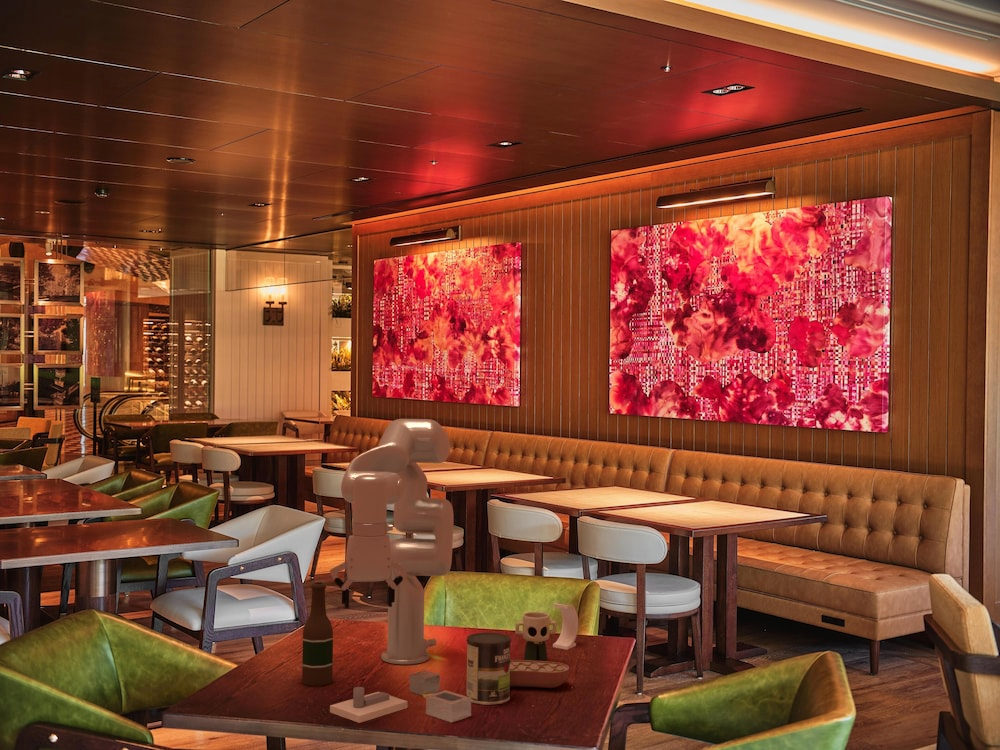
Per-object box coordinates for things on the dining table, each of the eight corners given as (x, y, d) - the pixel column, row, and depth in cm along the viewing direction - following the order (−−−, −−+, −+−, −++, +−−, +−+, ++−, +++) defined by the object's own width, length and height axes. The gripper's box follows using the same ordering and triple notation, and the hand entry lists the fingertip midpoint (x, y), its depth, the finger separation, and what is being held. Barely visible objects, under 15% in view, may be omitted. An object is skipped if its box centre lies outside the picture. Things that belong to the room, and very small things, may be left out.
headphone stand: (552, 647, 285) (553, 603, 285) (563, 642, 290) (564, 599, 290) (567, 649, 282) (567, 606, 282) (578, 645, 287) (578, 602, 287)
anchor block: (424, 687, 247) (425, 670, 247) (439, 691, 243) (439, 674, 243) (409, 691, 243) (409, 674, 243) (424, 696, 240) (424, 678, 240)
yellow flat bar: (422, 696, 239) (422, 694, 239) (434, 695, 241) (434, 693, 241) (434, 708, 231) (434, 706, 231) (446, 706, 232) (446, 704, 232)
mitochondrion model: (472, 691, 244) (473, 670, 244) (475, 679, 254) (475, 658, 254) (569, 693, 244) (569, 672, 244) (568, 681, 254) (568, 661, 254)
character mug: (517, 669, 263) (517, 618, 263) (512, 661, 270) (513, 611, 270) (558, 667, 264) (559, 617, 264) (553, 660, 271) (553, 611, 272)
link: (445, 707, 231) (445, 690, 231) (470, 716, 226) (471, 697, 226) (425, 714, 227) (426, 696, 227) (451, 722, 222) (451, 704, 222)
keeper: (377, 698, 238) (378, 674, 238) (407, 707, 231) (407, 683, 231) (329, 712, 227) (330, 687, 227) (359, 722, 221) (359, 697, 221)
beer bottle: (326, 687, 245) (328, 587, 245) (295, 685, 247) (297, 585, 247) (338, 678, 253) (339, 580, 253) (308, 676, 254) (309, 579, 254)
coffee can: (518, 696, 241) (519, 636, 241) (494, 708, 232) (495, 645, 232) (481, 688, 246) (482, 629, 246) (457, 699, 237) (458, 638, 237)
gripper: (405, 527, 237) (404, 601, 236) (329, 528, 233) (328, 604, 232) (410, 531, 229) (408, 608, 229) (331, 533, 225) (330, 611, 225)
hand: (368, 606), depth 231 cm, fingers open, 9 cm apart
